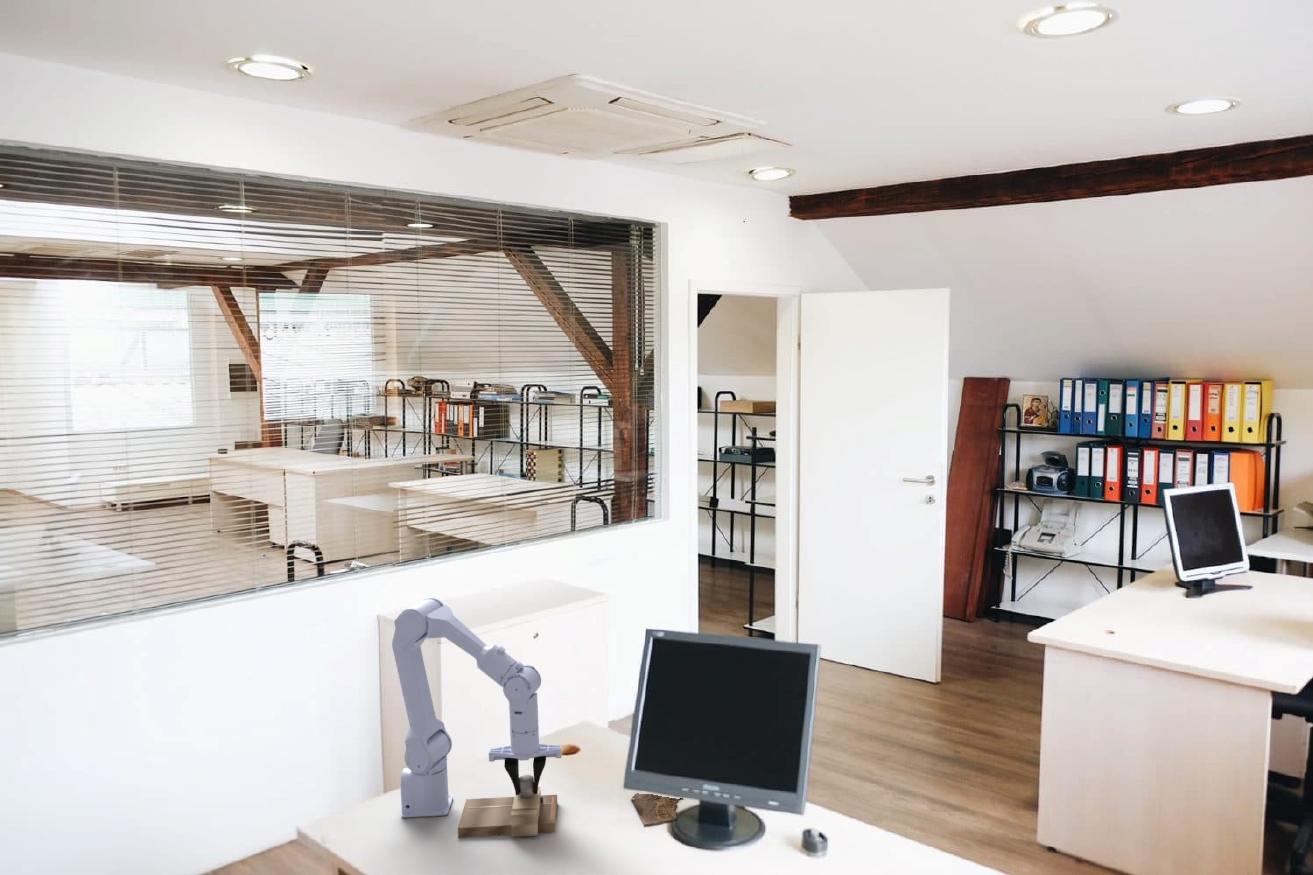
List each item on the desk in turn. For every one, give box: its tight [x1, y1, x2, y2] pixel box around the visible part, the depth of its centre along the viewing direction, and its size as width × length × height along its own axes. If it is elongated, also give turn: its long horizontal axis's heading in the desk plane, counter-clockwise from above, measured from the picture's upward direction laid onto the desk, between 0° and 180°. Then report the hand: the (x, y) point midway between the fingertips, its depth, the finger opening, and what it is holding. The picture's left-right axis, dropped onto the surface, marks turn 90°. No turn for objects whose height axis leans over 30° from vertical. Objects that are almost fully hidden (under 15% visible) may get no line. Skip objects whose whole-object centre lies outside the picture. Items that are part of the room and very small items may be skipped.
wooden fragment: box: [630, 792, 681, 828], centre depth 203 cm, size 26×11×1 cm, turn 169°
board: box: [457, 794, 558, 839], centre depth 194 cm, size 19×12×2 cm, turn 93°
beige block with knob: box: [511, 774, 543, 837], centre depth 192 cm, size 6×12×8 cm, turn 3°
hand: (526, 792), depth 194 cm, fingers closed on beige block with knob, 3 cm apart
